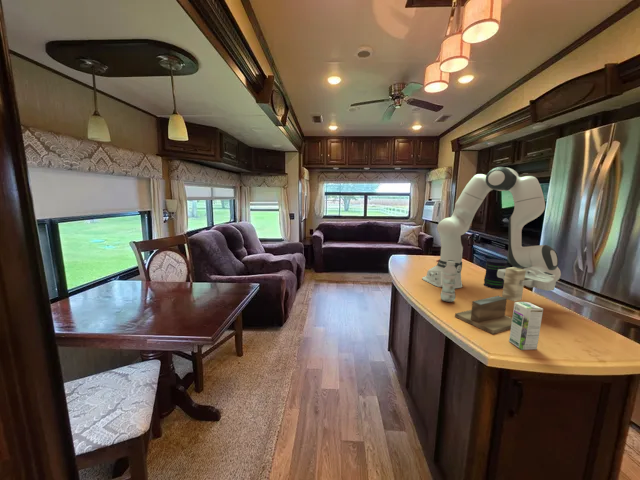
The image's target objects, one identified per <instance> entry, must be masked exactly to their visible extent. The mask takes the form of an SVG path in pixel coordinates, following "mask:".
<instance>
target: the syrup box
mask: <svg viewBox="0 0 640 480" xmlns="http://www.w3.org/2000/svg"><path fill="white" fill-rule="evenodd" d="M543 313H544V308H542V307H539V306H537V305H535V304H533V303H532V302H530V301H529V302H528V301H515V302H514V303H513V312H512V317H511V318H512V324H511V329H510V332H509V338H508V342H509V343H510V344H512V345H514V346H516V347H517V349H519V350H521V351H527V350H528V351H529V350H530V351H531V350H532V351H533V350H537V349H538V343H539V339H540V338H539V337H540V332H541V331H540V330H541V326H542V325H541V324H542V319H543V315H544V314H543Z"/></svg>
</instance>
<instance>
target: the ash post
mask: <svg viewBox="0 0 640 480" xmlns="http://www.w3.org/2000/svg"><path fill="white" fill-rule="evenodd" d="M525 273H526V270H524V268H516V267H514V266H512V267H507V268H506V271H505V279H504V286H503V289H502V293H501V294H502V295H501V297H504V298H507V300H508V301H511V302H514V303H515V302H520V301H522V298H523V292H524V287H525V285H520V284H519V283H520V282H519V281H520V280H525Z"/></svg>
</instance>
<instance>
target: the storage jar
mask: <svg viewBox="0 0 640 480" xmlns="http://www.w3.org/2000/svg"><path fill="white" fill-rule="evenodd" d="M507 265H508V260H507V261H506V260H503V259H496V258H487V259H486V263H485V275H484V279H483V282H484V283H483V286H484V287H486V288H489V289H493V290H503V286H504V280H503V279H502V278H499V277H497V272H498V270H499V269H506V268H508V267H507Z"/></svg>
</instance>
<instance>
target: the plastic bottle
mask: <svg viewBox="0 0 640 480" xmlns="http://www.w3.org/2000/svg"><path fill="white" fill-rule="evenodd" d="M446 264H447V266H446V267H445V268H444V269H443V287H441V292H440V299H441V301H443V302H448V303H453V302H454V301H455V300H456V288H455V282H456V277H457V273H458V272H457V269H456V268H455V266H454V265H455V261H454V260H447V263H446Z"/></svg>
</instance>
